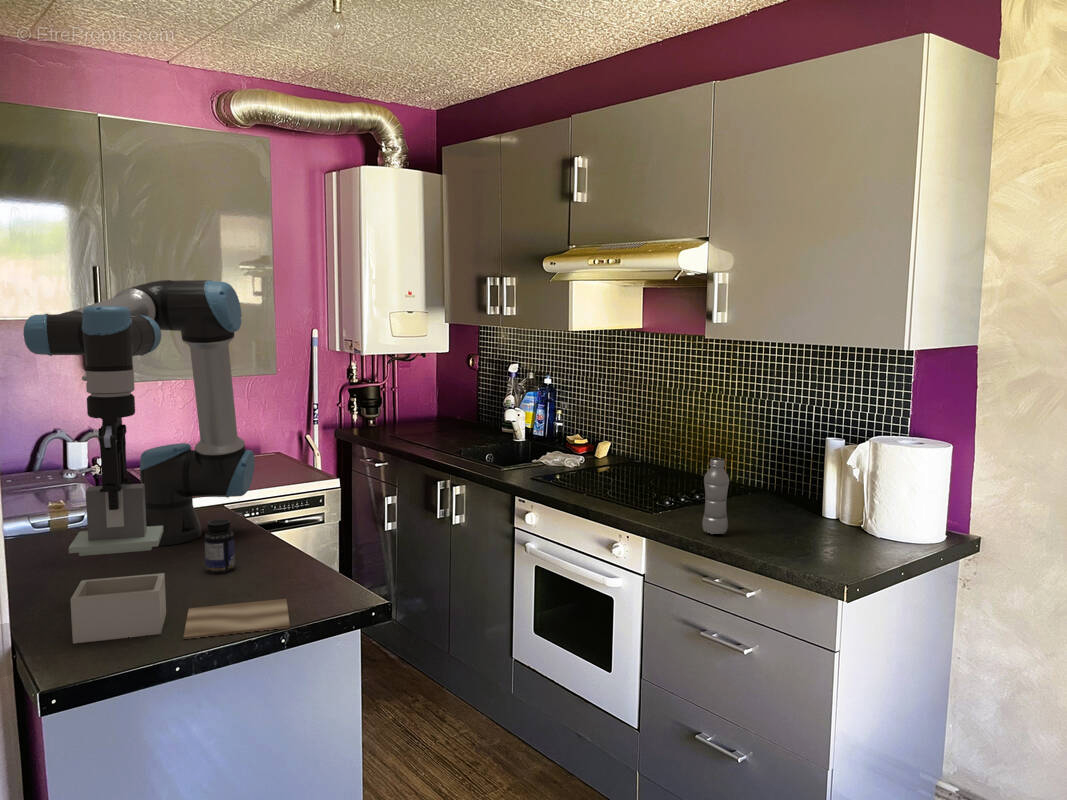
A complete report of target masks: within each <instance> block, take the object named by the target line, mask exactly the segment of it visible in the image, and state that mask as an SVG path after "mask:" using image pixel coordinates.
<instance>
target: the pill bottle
mask: <svg viewBox="0 0 1067 800" xmlns="http://www.w3.org/2000/svg"><path fill="white" fill-rule="evenodd" d="M206 523H207V525H206V526H207V527H206V528H207V529H208V532H207V533H205V534H204V555H205V558H204V559H205V560H204V561H205V571H206V573H209V574H213V575H218V574H219V575H221V574H225V573H229V572H231V571H234V569H235V568H236V556H235V553H236V552H235V534H234V532H233V531H232V530H231V529H230V527H231V520H229V519H226V518H221V519H220V518H218V519H212V520H209V521H208V522H206Z"/></svg>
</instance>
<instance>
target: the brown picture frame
mask: <svg viewBox="0 0 1067 800" xmlns="http://www.w3.org/2000/svg"><path fill="white" fill-rule="evenodd" d="M289 616H290V615H289V609H288V602H287V598H281V599H279V598H278V599H270V600H262V601H261V600H259V601H248V602H241V603H239V602H238V603H229V604H221V605H218V604H217V605H211V606H200V607H190V608H188V610H187V616H186V620H185V626H184V632H183V640H184V639H189V640H192V639H191V638H197V639H201V638H200V637H206V638H209V637H208V636H215V637H220V636H219V635H224V636H230V635H229V634H233V635H238V634H237V633H242V634H246V633H245V632H251V633H255V632H254V631H260V632H267V631H266V630H269V631H274V630H273V629H278V630H286V629H290V628H291V625H290V617H289ZM264 630H265V631H264Z"/></svg>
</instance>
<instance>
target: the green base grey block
mask: <svg viewBox="0 0 1067 800" xmlns="http://www.w3.org/2000/svg"><path fill="white" fill-rule="evenodd" d="M102 486H103V485H97V486H96V485H95V486H94V485H93V486H88V488H87V489H86V490H85V506H86V523H87V530H81V531H79V532H78V533H77V535H76V536H75V538H74V539H73V541H72V542H71V543H70V545H69V547H68V554H76V553H77V554H78V556H79V557H83V556H92V555H93V556H96V555H105V554H107V555H110V554H120V553H130V552H131V553H132V552H145V551H152V549H153V547H155V548H156V547H159V546H158V545H159V542H160V539H161V536H162V534H163V531H164V530H163V526H149V527H146V506H145V485H144V484H141V483H126V485H124V484H123V485H121V487H122V489H121V490H123V508H124V526H123V527H109V528H107V521H106V502H105V492H100V489H102Z"/></svg>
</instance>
